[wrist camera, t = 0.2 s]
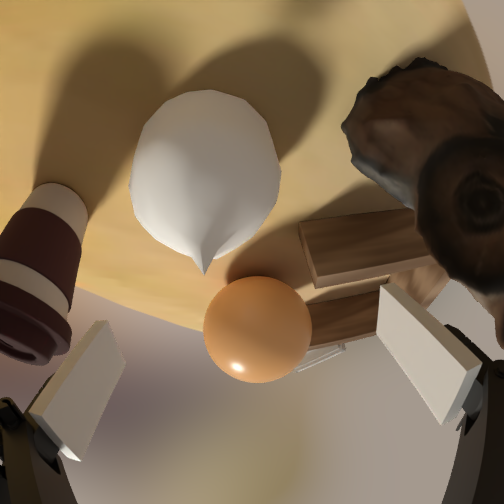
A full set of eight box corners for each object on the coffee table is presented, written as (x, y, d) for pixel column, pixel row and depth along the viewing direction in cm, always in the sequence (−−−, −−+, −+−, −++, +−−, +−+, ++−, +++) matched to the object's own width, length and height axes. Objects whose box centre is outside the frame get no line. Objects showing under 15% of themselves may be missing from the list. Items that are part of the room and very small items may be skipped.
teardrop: (299, 135, 21) (358, 245, 13) (225, 219, 27) (235, 334, 19) (179, 64, 15) (138, 132, 7) (119, 176, 21) (81, 296, 14)
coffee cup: (97, 170, 20) (37, 334, 11) (105, 245, 27) (81, 380, 18) (12, 168, 17) (-62, 304, 8) (33, 238, 24) (-5, 358, 15)
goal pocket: (299, 221, 28) (320, 286, 23) (436, 205, 29) (468, 254, 24) (292, 313, 45) (302, 358, 40) (390, 292, 45) (406, 331, 40)
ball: (190, 262, 31) (191, 373, 23) (302, 246, 32) (332, 353, 23) (212, 313, 41) (219, 396, 33) (296, 301, 42) (315, 382, 33)
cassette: (330, 309, 46) (342, 349, 41) (336, 311, 47) (348, 350, 42) (284, 336, 53) (291, 372, 48) (290, 337, 54) (297, 373, 49)
